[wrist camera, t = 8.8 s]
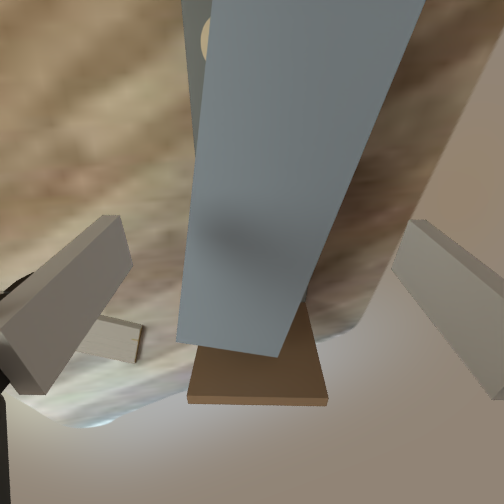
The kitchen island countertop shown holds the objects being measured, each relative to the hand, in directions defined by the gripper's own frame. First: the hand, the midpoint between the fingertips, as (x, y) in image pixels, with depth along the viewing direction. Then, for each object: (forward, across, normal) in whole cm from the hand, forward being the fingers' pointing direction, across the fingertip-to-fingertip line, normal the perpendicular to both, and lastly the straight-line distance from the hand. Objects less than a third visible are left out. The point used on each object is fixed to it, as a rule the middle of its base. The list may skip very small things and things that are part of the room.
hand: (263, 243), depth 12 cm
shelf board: (+9, 0, -1) cm, 9 cm away
